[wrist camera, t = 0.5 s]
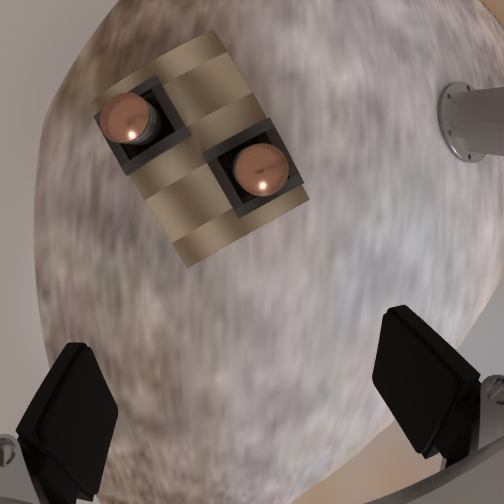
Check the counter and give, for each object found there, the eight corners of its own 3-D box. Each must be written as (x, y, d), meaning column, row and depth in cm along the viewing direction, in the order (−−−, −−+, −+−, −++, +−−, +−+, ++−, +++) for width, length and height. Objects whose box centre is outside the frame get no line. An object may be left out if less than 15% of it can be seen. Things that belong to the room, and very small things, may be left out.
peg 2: (260, 139, 27) (273, 134, 21) (279, 175, 29) (297, 180, 22) (223, 159, 28) (225, 159, 21) (243, 195, 29) (252, 205, 23)
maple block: (213, 46, 28) (213, 25, 22) (296, 193, 34) (313, 201, 28) (106, 109, 28) (85, 100, 22) (191, 252, 35) (186, 272, 29)
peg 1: (151, 98, 25) (134, 82, 18) (170, 131, 26) (157, 123, 20) (117, 120, 25) (91, 112, 19) (135, 153, 26) (113, 152, 20)
